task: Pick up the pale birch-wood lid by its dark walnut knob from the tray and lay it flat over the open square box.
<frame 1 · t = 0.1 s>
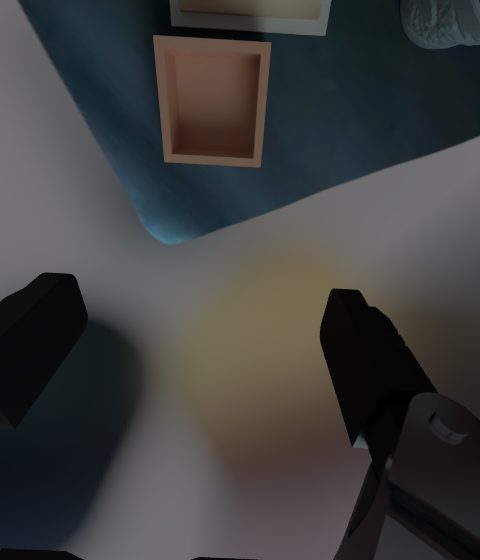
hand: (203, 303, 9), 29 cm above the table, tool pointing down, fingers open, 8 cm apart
open square box: (217, 107, 31), on the table
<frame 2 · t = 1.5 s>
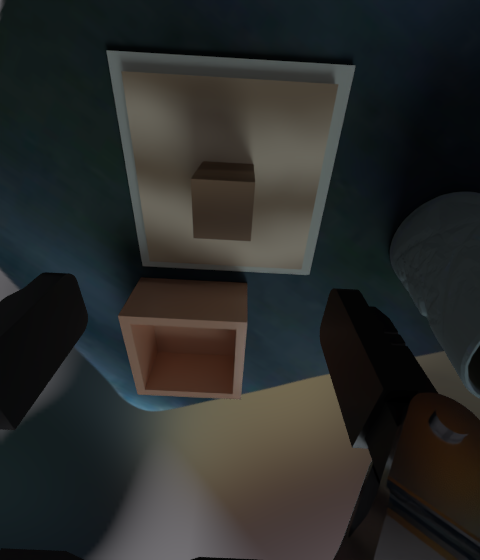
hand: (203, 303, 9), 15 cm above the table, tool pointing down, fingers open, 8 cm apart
grey cup: (437, 243, 24), on the table
open square box: (196, 320, 29), on the table
lid: (228, 185, 21), resting on tray
tray: (228, 183, 21), on the table
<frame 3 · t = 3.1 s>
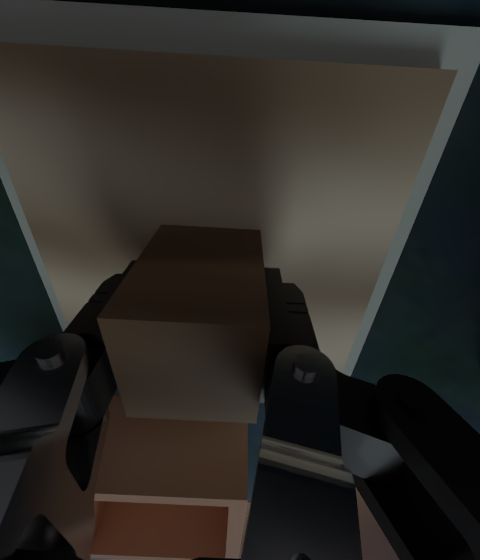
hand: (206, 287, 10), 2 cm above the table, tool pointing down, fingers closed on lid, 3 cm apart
open square box: (171, 430, 19), on the table
lid: (213, 259, 11), resting on tray, touching gripper
tray: (214, 255, 12), on the table
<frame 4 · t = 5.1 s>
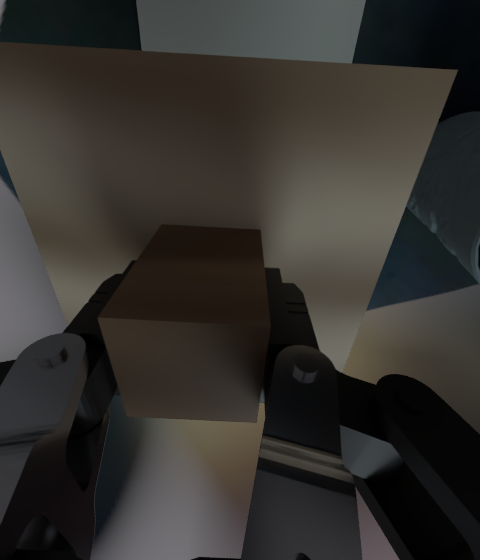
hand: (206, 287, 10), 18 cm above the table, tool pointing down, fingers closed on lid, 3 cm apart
grey cup: (446, 171, 24), on the table
lid: (213, 259, 11), point 16 cm above the table, touching gripper
tray: (244, 104, 22), on the table
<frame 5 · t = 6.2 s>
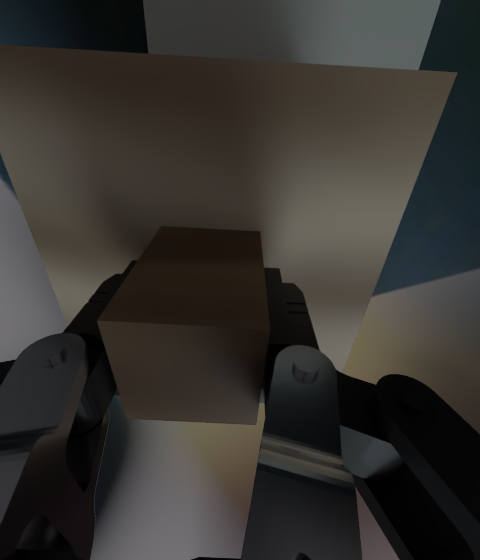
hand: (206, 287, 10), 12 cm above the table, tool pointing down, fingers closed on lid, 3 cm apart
lid: (213, 261, 11), point 10 cm above the table, touching gripper
when the fingers open (9 cm above the table, at t = 7.1 s): lid drops 1 cm, resting on open square box.
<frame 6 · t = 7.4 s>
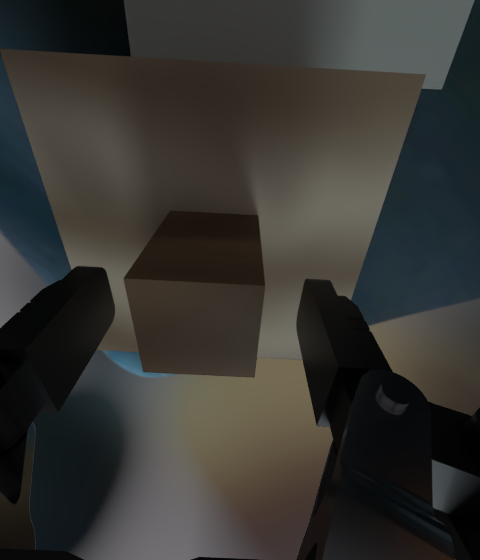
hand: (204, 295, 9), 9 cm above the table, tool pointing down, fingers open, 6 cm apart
lid: (216, 244, 13), point 5 cm above the table, touching open square box
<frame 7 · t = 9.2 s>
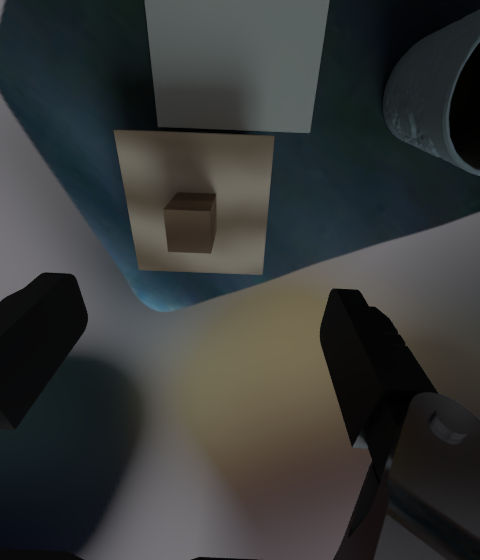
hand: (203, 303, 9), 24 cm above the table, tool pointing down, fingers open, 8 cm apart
grey cup: (426, 95, 26), on the table
lid: (199, 209, 26), point 5 cm above the table, touching open square box
tray: (236, 30, 24), on the table
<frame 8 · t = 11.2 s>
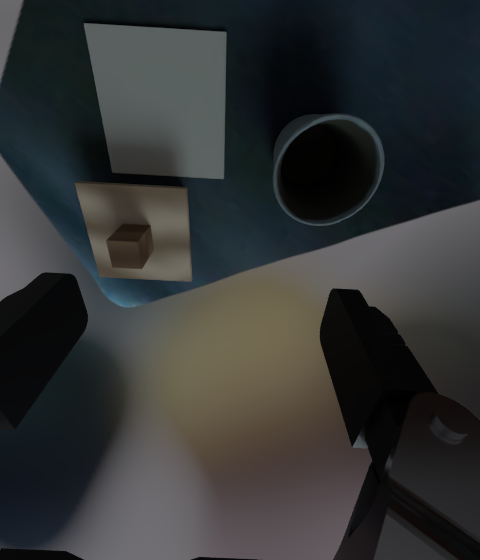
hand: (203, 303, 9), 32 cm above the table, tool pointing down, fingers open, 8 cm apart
grey cup: (304, 154, 36), on the table
lid: (140, 234, 37), point 5 cm above the table, touching open square box
tray: (163, 110, 34), on the table
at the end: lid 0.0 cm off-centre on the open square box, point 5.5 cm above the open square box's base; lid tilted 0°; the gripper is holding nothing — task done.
